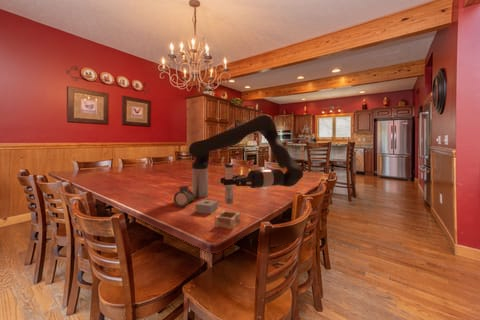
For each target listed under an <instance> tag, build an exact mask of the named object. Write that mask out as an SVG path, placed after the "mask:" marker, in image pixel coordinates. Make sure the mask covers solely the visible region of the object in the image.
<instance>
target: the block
mask: <svg viewBox="0 0 480 320" xmlns="http://www.w3.org/2000/svg"><path fill="white" fill-rule="evenodd" d="M194 209H195V213H199V214H204V215H205V214H206V215H211V214H213V213H214V212H216V211H217V210H218V209H219V201H218V200H212V199H211V200H210V199H202V200H200V201H198V202H196V203H195V208H194Z"/></svg>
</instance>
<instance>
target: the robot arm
mask: <svg viewBox="0 0 480 320" xmlns="http://www.w3.org/2000/svg"><path fill="white" fill-rule="evenodd" d="M257 132H259V133H260V135H262V136H263V138H264V139H265V140H266V141H267V143H268V145H269V148H270V150H271V153H272V155H273V157H274V159H275V161H276V164H277V165H278V167H279V168H281V169H285V168H286V171H285V172H284V171H282V170H281V169H278V168H277V169H276V168H274V169H253V170H252V169H251V170H249V171H248V173H247V174H233V179H226V180H225V177H221V178H220V184H223V186H225V185H233V186H236V187H250V188H251V189H257V188H259V189H260V188H266V187H267V188H268V187H270V186H271V187H272V186H273V187H274V186H283V187H286V188H287V187H293V186H295V185H297V184H298V182H299V181H300V180H301V179H303V177H304V171H303V167H301V166H300V165H299V164H298V163H297V162H296V161H295V160H294V159H293V157H292V156H291V154H290V153H289V151H288V150H287V147H286V146H285V144H284V143H283V142H282V140H281V138H280V136H279V134H278V130H277V127H276V124H275V121H274V120H273V118H272V117H271V116H270V115H269V114H262V115H261V114H260V115H259V116H257V117H255V118H253V119H251V120H249V121H246V122H244V123H242V124H239V125H237V126H234V127H231V128H229V129H226V130H224V131H221V132H219V133H216V134H215V135H212V136H210V137H208V138H206V139H202V140H201V139H200V140H197V141H194V142H192V143H191V144H190V145H189V147H188V153H189V154H190V156H192V157H194V161H193V162H192V164H191V166H192V167H191V173H192V177H191V178H192V192H193V193H194V199H195V198H196V199H197V198H198V199H201V198H203V199H204V198H207V197H208V196H209V169H208V168H209V166H208V165H209V163H210V152H212V151H216V150H222V149H227V148H230V147H232V146H233V147H234V146H236V145H238V144H240V143H241V142H242V141H243V140H244V139H245V138H246V137H247V136H249V135H251V134H253V133H257Z"/></svg>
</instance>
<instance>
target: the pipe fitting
mask: <svg viewBox="0 0 480 320" xmlns="http://www.w3.org/2000/svg"><path fill="white" fill-rule="evenodd" d="M178 189H179V191H177V192H176V193H175V194H174V195H173V203H174V204H175V205H176V207H179V208H184V207H185V206H187V205H189V203H191V202H192V201H193V200H194V199H195V197H194V193H193V191H191V189H190V187H189V185H181V186H178Z"/></svg>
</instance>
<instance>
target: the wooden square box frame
mask: <svg viewBox="0 0 480 320" xmlns="http://www.w3.org/2000/svg"><path fill="white" fill-rule="evenodd" d="M240 223H241V212H237V211H231V210H230V211H228V210H222V211H220V212H219V213H218V214H217V215H216V216H214V227H215V228H220V229H221V228H222V229H227V230H235V229H236V227H237V226H238V225H239V224H240Z"/></svg>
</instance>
